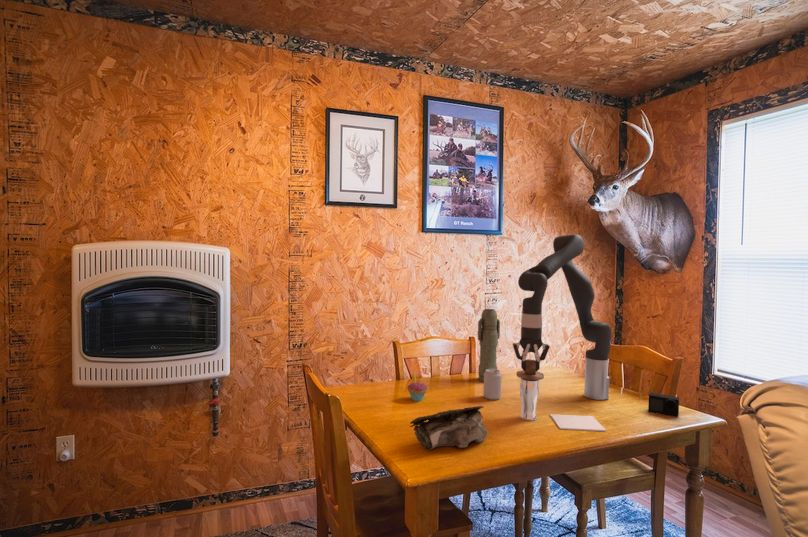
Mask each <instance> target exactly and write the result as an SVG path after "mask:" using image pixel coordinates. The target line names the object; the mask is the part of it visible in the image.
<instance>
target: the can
mask: <svg viewBox="0 0 808 537" xmlns="http://www.w3.org/2000/svg"><path fill="white" fill-rule="evenodd" d="M502 377H503V374H502V373H501V370H500V369H498V368H497V369H487V370H486V372H485V373H484V382H483V393H482V394H483V397H484V398H485V399H487V400H491V401H496V400H500V398H502V384H503V383H502V379H503V378H502Z"/></svg>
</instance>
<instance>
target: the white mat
mask: <svg viewBox="0 0 808 537" xmlns="http://www.w3.org/2000/svg"><path fill="white" fill-rule="evenodd" d="M550 417H551V419H552V420H553V422H554V423H555V425H556V426H557V427H558V429H559V430H570V431H586V432H591V431H592V432H607V429H606V428H605V427H604V426H603V425H602V424H601V423H600V422H599V421H598V420H597V419H596V417H595V416H593V415H577V414H574V415H571V414H555V413H550Z"/></svg>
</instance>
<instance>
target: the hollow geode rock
mask: <svg viewBox="0 0 808 537" xmlns="http://www.w3.org/2000/svg"><path fill="white" fill-rule="evenodd" d="M483 408H484V405H477V406H472V407H470V406H467V407H464V408H457V409H450V410H446V411H445V410H443V411H439V412H437V413H433V414H430V415H429V414H428V415H426V416H419V417H416V418H415V419H413V420H411V421H410V422H409V424H410V425H409V427H410V428H413V427H414V428H413V431H414V435H415V437H416V439H417V441H418V443H419V444H421V446H422V447H423V448H424V450H426V451H428V452H429V451H431V450H433V449H434V448H436V447H444V446H445V447H453V446H456V447H458V448H467V447H468V446H469V443H471V442H475V443H483V442H485V440H486V438H487V436H488V434H489V431H488V429H487V428H486V426H485V425H484V422H483V421H482V419H483V414H482V412H481V411H480V410H481V409H483Z"/></svg>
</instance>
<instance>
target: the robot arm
mask: <svg viewBox="0 0 808 537" xmlns="http://www.w3.org/2000/svg"><path fill="white" fill-rule="evenodd" d="M552 242H553V244H552V248H553V251H554V253H551V254H549V255H547V256H546V257H544V258H543V259H542V260H541V261H539V263H537V264H536V265H535V266H533V267H531V268H529V269H526V270H525V271H523V272H522V273H521V274H520V276H519V277H518V282H517V283H518V287H519V288H520V289H521V290H522V291H525V292H533V294H532V296H530V297H525V298H523V300H522V308H521V310H522V311H521V320H520V321H521V324H520V340H519V341H518V342H513V343H512V348H513V350H514V353H515V356H516V358H517V360H520V361H521V362H520V365H521V366H520V367H521V369H522V370H523V371H526V361H525V360H527V356H528V354H530V353H533V354H534V358H535V359H534V360H535V361H536V372H539V371H540V365H541V364H540V363H541V361H545V360H546V357H547V355H548V353H549V349H550V348H551V347H550V345H549V344H547V343H543V340H542V337H543V336H542V335H543V333H542V332H543V331H542V330H543V318H542V310H543V306H542V305H543V301H544V298H545V294H546V291H547V287H548V282H549V281H548V280H549V279H551V278H552V276H553V275H555V274H556V273H557V272H558V271H559V270H560V269H561V270H562V272H563V275H564V277H565V280H566V283H567V286H568V289H569V293H570V295H571V298H572V300H573V303H574V306H575V310H576V314H577V317H578V321H579V322H578V323H579V327H580V331H581V334H582V337H583V338H584V340H586V341H588V342H591V343H594V348H593V349H592V348H591V349H587V350H586V351H585V359H584V362H585V364H584V389H583V390H584V391H583V393H584V394H583V395H584V397H585V398H588V399H591V400H595V401H597V400H598V401H605V400H609V397H610V395H609V394H610V377H609V376H608V375H609V374H608V373H609V369H608V368H609V356H610V353H611V345H612V328H611V325H609V324H608V323H606V322H601V321H595V319H594V317H593V315H592V307H593V304H594V300H595V291H594V288H593V284H592V282H591V279H590V278H589V277H588V276H587V275H586V274H585V273H584V272H583V271H581V269H579V268H578V267H577V266H576V265H575V263H574V261H573V260H574V259H575V258H577V257H579V256H580V255H582V253H583V252H584V250H585V243H584V240H583V238H582V236H581V235H579V234H568V235H567V234H566V235H560V236H559V235H558V236H557V237H554V239H553V241H552ZM520 347H521V348H522V353H521V355H520V352H519V348H520ZM541 347H542V351H541V354H539V350H540V349H541Z"/></svg>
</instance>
